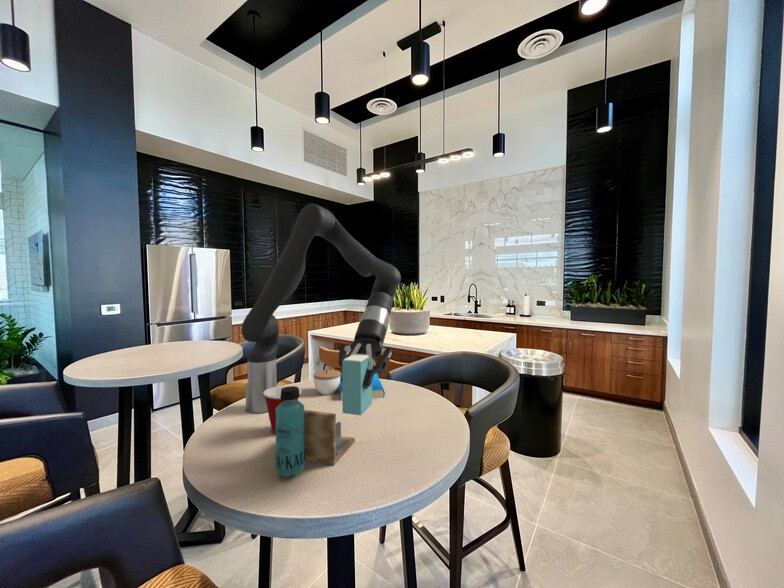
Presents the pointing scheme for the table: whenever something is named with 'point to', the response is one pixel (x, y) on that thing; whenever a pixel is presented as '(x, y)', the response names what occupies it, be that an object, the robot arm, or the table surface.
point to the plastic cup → (274, 403)
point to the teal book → (355, 385)
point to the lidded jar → (327, 381)
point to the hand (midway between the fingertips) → (354, 385)
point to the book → (376, 387)
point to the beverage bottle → (290, 433)
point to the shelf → (324, 438)
